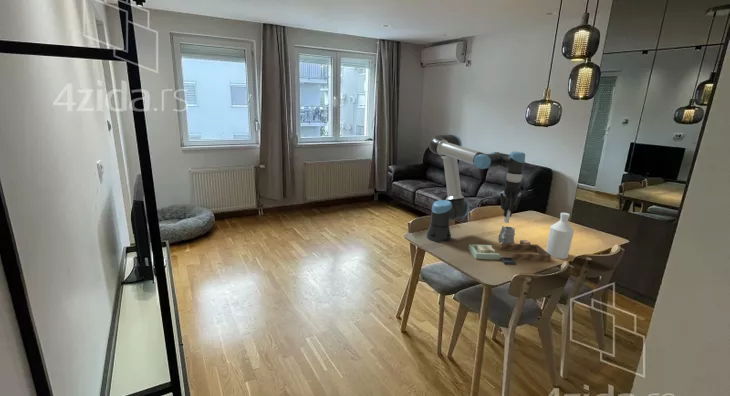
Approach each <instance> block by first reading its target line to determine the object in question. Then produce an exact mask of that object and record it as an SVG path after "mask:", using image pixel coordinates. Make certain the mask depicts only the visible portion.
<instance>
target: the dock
mask: <svg viewBox="0 0 730 396" xmlns="http://www.w3.org/2000/svg"><path fill="white" fill-rule="evenodd" d="M477 246H491V247H492V248H493V245H491V244H471V243H470V244H468V247H467V248H468V251H469V252H470V253H471V255H472V256H473V257H474V259H475V260H500V257H501V255H500V253H497V252H496V253H478V252H477Z"/></svg>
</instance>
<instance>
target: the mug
mask: <svg viewBox="0 0 730 396" xmlns="http://www.w3.org/2000/svg"><path fill="white" fill-rule="evenodd" d="M515 231H516V228H514V227H512V226H506V225H505V226H504V225H501V230H500V232H499V234H498V237H497V239H498V243H501V244H502V243H506V244H515V243H514V242H515V235H516V233H515Z"/></svg>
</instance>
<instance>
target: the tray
mask: <svg viewBox="0 0 730 396" xmlns="http://www.w3.org/2000/svg"><path fill="white" fill-rule="evenodd" d="M499 260H500V261H501V262H502V263H503V264H504V265H516V264H517V262H516V260H513V259H512V258H511V256H500V258H499Z"/></svg>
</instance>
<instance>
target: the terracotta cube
mask: <svg viewBox="0 0 730 396" xmlns="http://www.w3.org/2000/svg"><path fill="white" fill-rule="evenodd" d="M519 244H531V241H529V240H527V239H520V240H519Z"/></svg>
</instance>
